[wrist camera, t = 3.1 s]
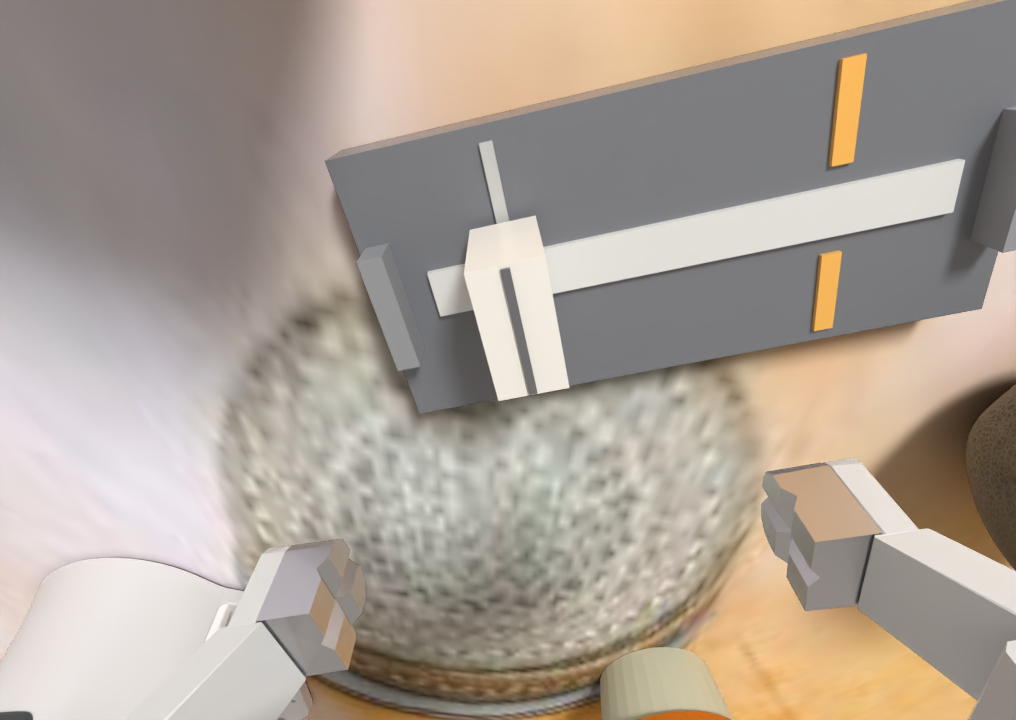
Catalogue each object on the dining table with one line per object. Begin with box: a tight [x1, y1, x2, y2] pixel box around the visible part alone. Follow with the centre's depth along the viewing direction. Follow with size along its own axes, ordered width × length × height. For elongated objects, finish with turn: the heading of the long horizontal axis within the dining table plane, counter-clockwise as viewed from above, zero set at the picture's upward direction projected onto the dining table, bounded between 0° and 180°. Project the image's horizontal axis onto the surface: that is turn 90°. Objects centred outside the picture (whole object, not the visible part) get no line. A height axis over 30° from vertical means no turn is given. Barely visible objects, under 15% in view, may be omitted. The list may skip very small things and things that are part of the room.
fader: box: [464, 216, 569, 401], centre depth 19 cm, size 5×3×5 cm, turn 12°
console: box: [325, 0, 1016, 414], centre depth 22 cm, size 12×26×4 cm, turn 102°
